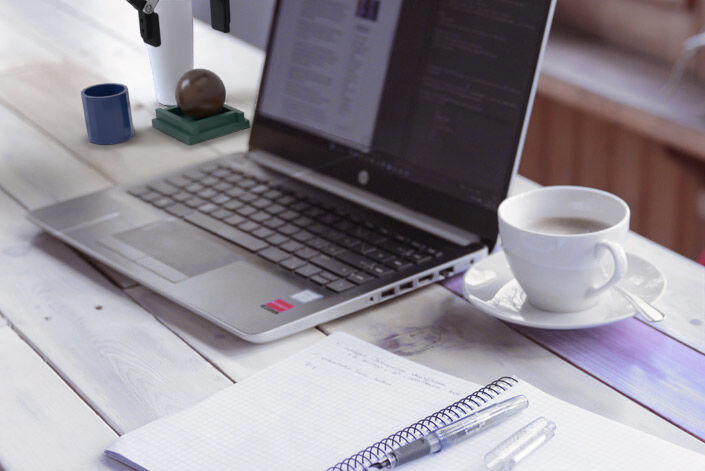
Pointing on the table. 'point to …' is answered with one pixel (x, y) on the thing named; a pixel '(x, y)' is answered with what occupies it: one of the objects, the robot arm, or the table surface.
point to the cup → (107, 113)
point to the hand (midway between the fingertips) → (187, 37)
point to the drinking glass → (172, 48)
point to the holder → (199, 124)
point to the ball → (200, 94)
